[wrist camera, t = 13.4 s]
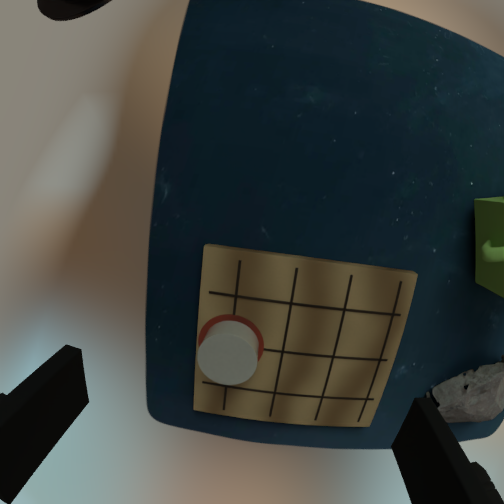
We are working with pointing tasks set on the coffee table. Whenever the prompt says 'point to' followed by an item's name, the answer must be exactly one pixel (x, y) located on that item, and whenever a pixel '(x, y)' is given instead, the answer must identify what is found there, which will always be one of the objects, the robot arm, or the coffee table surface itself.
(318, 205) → the coffee table surface
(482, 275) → the teapot
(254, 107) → the coffee table surface
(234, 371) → the gray cylinder
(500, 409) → the stone
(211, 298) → the board
